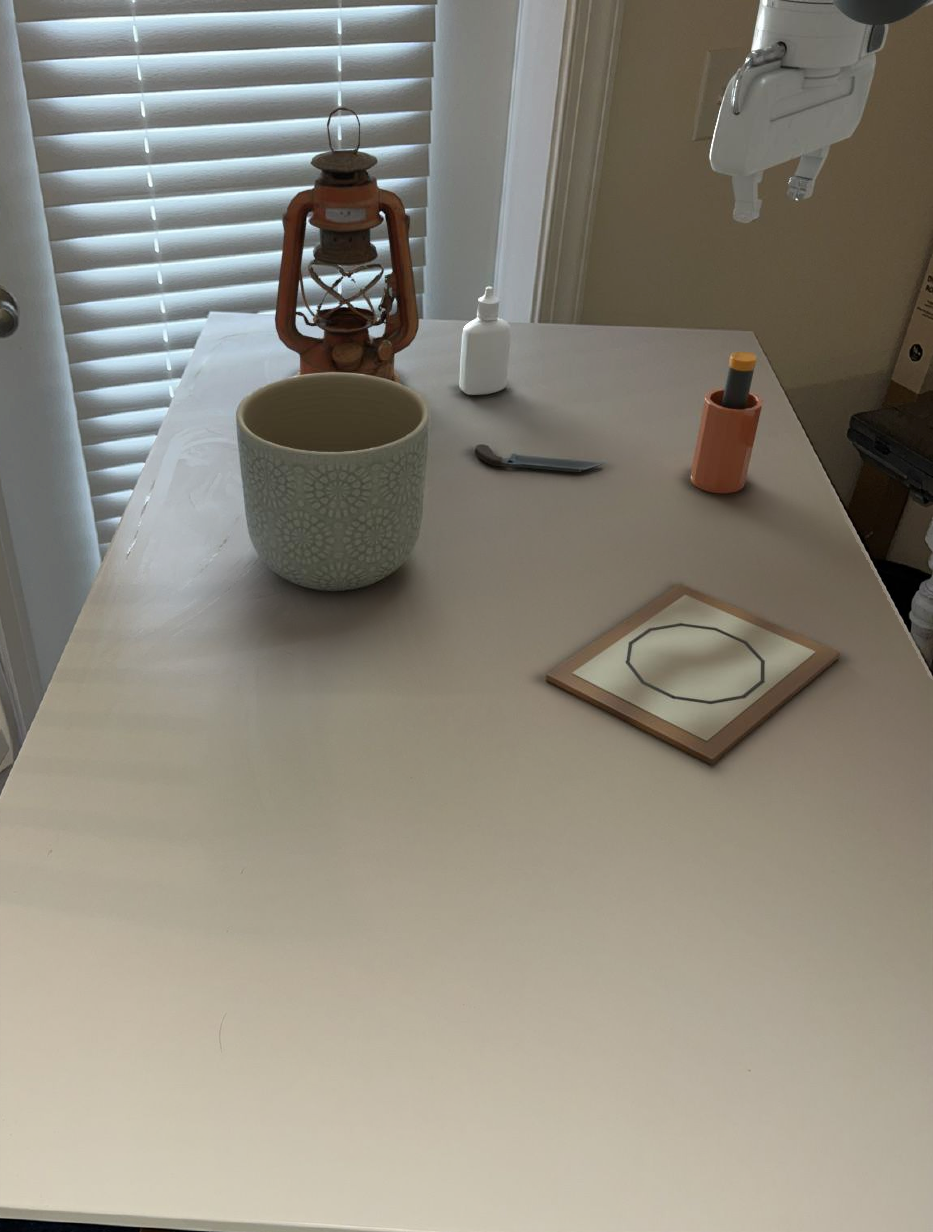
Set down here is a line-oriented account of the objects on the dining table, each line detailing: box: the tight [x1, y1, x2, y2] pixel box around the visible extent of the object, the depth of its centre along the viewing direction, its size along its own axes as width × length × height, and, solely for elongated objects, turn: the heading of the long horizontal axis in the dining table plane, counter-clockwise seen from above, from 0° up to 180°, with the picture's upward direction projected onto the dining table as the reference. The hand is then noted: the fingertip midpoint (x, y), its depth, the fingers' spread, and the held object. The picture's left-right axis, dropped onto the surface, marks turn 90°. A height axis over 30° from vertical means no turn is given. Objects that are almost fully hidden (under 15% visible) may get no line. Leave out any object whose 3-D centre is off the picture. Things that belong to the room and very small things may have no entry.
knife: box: [474, 444, 606, 473], centre depth 134 cm, size 14×4×1 cm, turn 78°
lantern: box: [274, 106, 420, 384], centre depth 141 cm, size 17×13×30 cm
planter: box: [235, 373, 430, 592], centre depth 114 cm, size 17×17×15 cm
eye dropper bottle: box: [458, 285, 512, 396], centre depth 145 cm, size 4×6×12 cm
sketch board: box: [545, 583, 841, 765], centre depth 105 cm, size 16×20×1 cm
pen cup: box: [689, 387, 764, 494], centre depth 128 cm, size 6×6×9 cm
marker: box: [721, 351, 758, 409], centre depth 126 cm, size 2×2×13 cm
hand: (772, 209), depth 114 cm, fingers open, 8 cm apart
